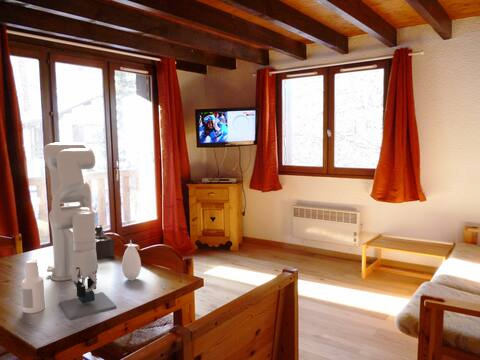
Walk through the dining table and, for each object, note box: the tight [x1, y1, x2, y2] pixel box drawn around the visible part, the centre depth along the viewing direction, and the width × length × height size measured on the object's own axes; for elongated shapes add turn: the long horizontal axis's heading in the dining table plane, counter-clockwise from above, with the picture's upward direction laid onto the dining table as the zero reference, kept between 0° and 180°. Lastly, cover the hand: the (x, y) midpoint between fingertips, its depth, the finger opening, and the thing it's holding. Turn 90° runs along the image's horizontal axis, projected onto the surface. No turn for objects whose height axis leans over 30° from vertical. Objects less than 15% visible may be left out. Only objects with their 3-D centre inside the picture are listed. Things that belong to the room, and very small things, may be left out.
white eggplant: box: [121, 239, 142, 281], centre depth 170 cm, size 8×8×18 cm
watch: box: [73, 272, 98, 304], centre depth 143 cm, size 6×8×11 cm
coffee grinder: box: [95, 224, 115, 261], centre depth 203 cm, size 16×11×18 cm
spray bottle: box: [21, 259, 46, 314], centre depth 140 cm, size 7×7×18 cm
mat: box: [58, 291, 117, 320], centre depth 144 cm, size 16×16×1 cm
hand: (86, 292), depth 144 cm, fingers closed on watch, 6 cm apart
